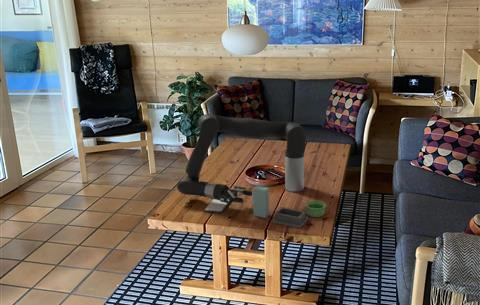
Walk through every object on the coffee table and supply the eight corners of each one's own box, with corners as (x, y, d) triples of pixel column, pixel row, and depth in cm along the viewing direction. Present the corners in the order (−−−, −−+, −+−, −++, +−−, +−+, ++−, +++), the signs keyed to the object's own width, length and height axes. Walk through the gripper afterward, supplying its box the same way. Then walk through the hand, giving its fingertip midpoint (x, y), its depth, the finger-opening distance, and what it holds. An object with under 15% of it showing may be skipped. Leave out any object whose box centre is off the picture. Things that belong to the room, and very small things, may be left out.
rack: (280, 214, 231) (280, 206, 230) (308, 219, 225) (308, 211, 224) (272, 222, 224) (272, 213, 223) (300, 228, 218) (300, 219, 217)
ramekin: (301, 214, 231) (301, 205, 230) (312, 207, 237) (312, 198, 236) (318, 219, 225) (318, 210, 224) (329, 212, 232) (329, 203, 230)
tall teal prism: (257, 212, 234) (256, 185, 230) (269, 214, 231) (268, 187, 227) (253, 215, 231) (252, 188, 227) (265, 218, 228) (265, 190, 224)
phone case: (221, 215, 234) (232, 200, 249) (221, 211, 234) (232, 197, 248) (203, 213, 237) (215, 198, 251) (203, 210, 236) (214, 195, 251)
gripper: (207, 189, 233) (239, 195, 225) (224, 178, 244) (254, 184, 237) (208, 204, 235) (240, 210, 227) (224, 193, 247) (255, 199, 239)
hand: (247, 197), depth 232 cm, fingers open, 8 cm apart
